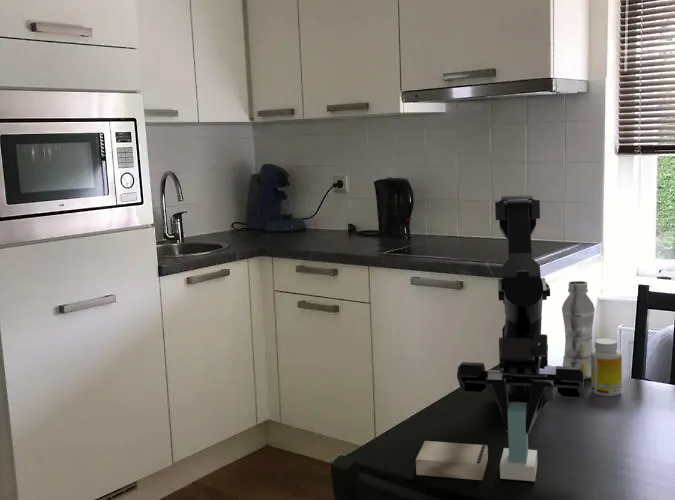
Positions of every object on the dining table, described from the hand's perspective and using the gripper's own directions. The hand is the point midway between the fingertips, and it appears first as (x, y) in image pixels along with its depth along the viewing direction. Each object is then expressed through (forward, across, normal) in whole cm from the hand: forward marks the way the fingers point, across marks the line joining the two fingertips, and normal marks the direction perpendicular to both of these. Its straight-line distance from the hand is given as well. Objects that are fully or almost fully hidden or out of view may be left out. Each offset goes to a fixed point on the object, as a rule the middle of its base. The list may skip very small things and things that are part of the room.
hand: (517, 432), depth 111 cm
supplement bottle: (-23, +13, +33) cm, 42 cm away
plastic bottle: (-28, +8, +38) cm, 48 cm away
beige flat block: (+4, -10, +6) cm, 12 cm away
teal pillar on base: (+4, 0, +6) cm, 7 cm away
